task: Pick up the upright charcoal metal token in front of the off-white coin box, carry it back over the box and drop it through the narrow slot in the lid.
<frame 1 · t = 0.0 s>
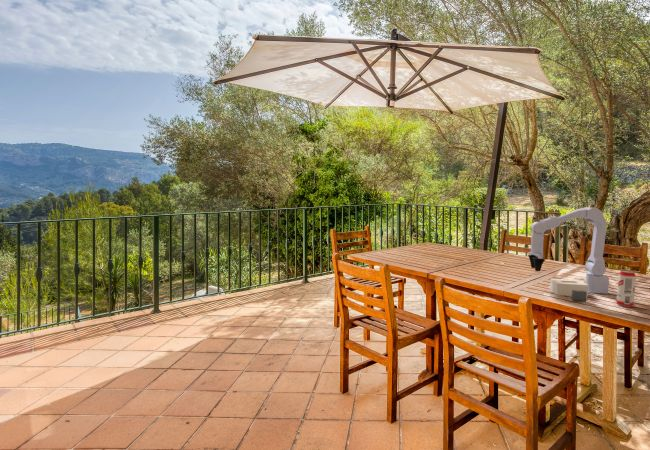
hand: (535, 269, 208), 10 cm above the table, tool pointing down, fingers open, 7 cm apart
coin box: (568, 293, 199), on the table
beer can: (624, 305, 179), on the table
token: (578, 301, 185), on the table
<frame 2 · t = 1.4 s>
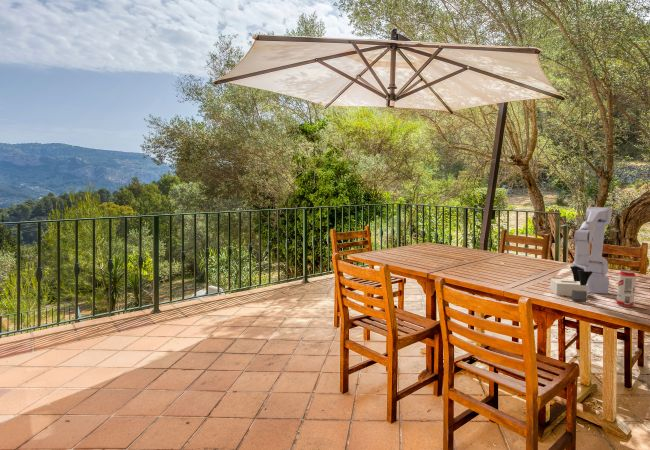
hand: (579, 283, 185), 9 cm above the table, tool pointing down, fingers open, 7 cm apart
nothing on the table moved.
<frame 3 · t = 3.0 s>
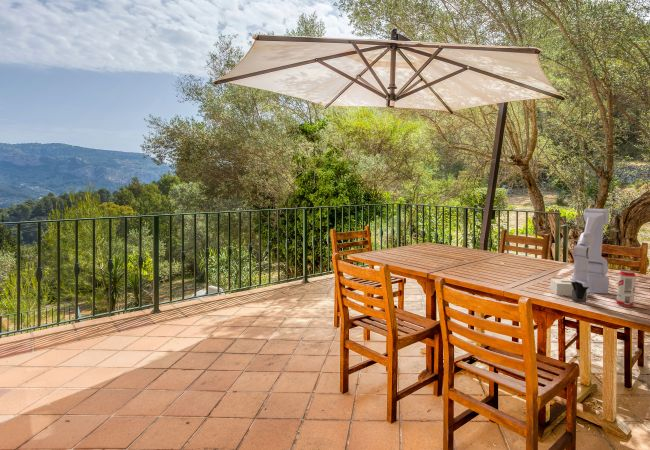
hand: (578, 298, 185), 1 cm above the table, tool pointing down, fingers closed on token, 2 cm apart
token: (578, 301, 185), on the table, touching gripper
everything else where it was.
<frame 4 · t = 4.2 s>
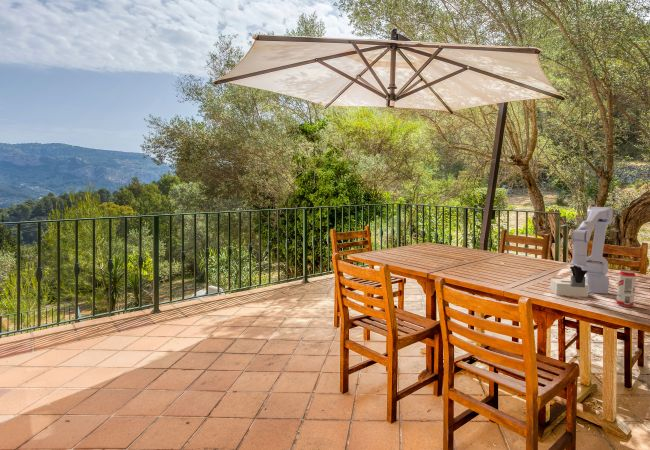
hand: (577, 282, 187), 8 cm above the table, tool pointing down, fingers closed on token, 2 cm apart
token: (577, 286, 188), point 6 cm above the table, touching gripper
everything else where it was.
when the fingers open (8 cm above the table, at t = 5.4 s): token drops 5 cm, resting in coin box.
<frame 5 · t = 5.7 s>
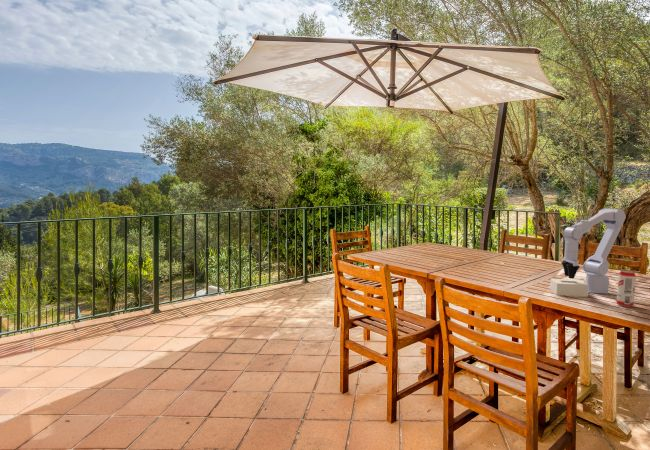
hand: (569, 277, 198), 8 cm above the table, tool pointing down, fingers open, 5 cm apart
token: (568, 293, 198), resting in coin box
everything else where it was.
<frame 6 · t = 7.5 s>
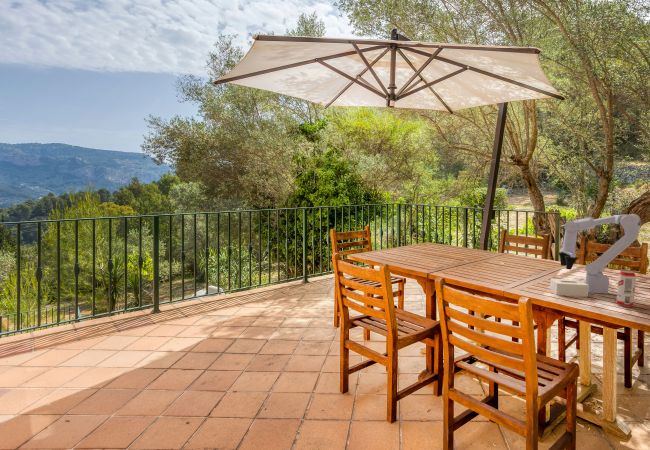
hand: (565, 267, 211), 10 cm above the table, tool pointing down, fingers open, 7 cm apart
nothing on the table moved.
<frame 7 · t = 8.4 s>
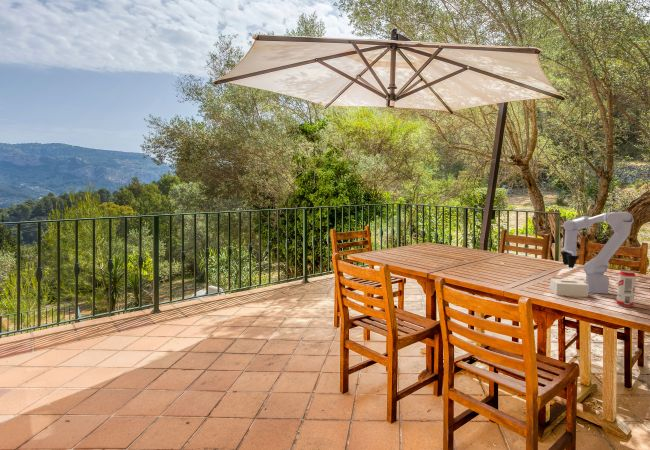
hand: (568, 266, 215), 10 cm above the table, tool pointing down, fingers open, 7 cm apart
nothing on the table moved.
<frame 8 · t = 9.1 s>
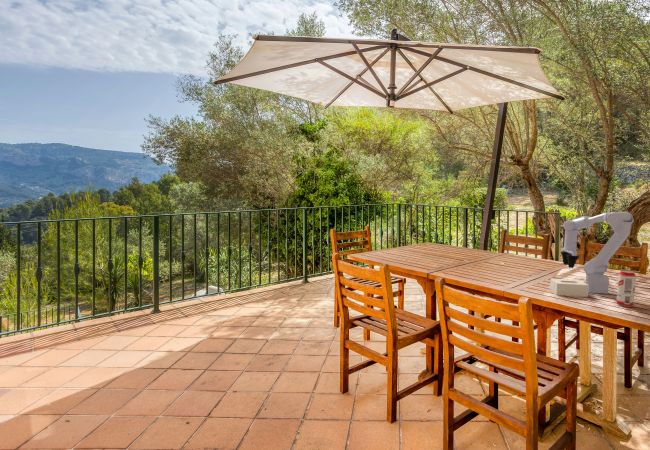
hand: (568, 266, 215), 10 cm above the table, tool pointing down, fingers open, 7 cm apart
nothing on the table moved.
at the end: token inside the target area on the coin box (0.2 cm from its centre), point 0.0 cm above the coin box's base; the gripper is holding nothing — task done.
